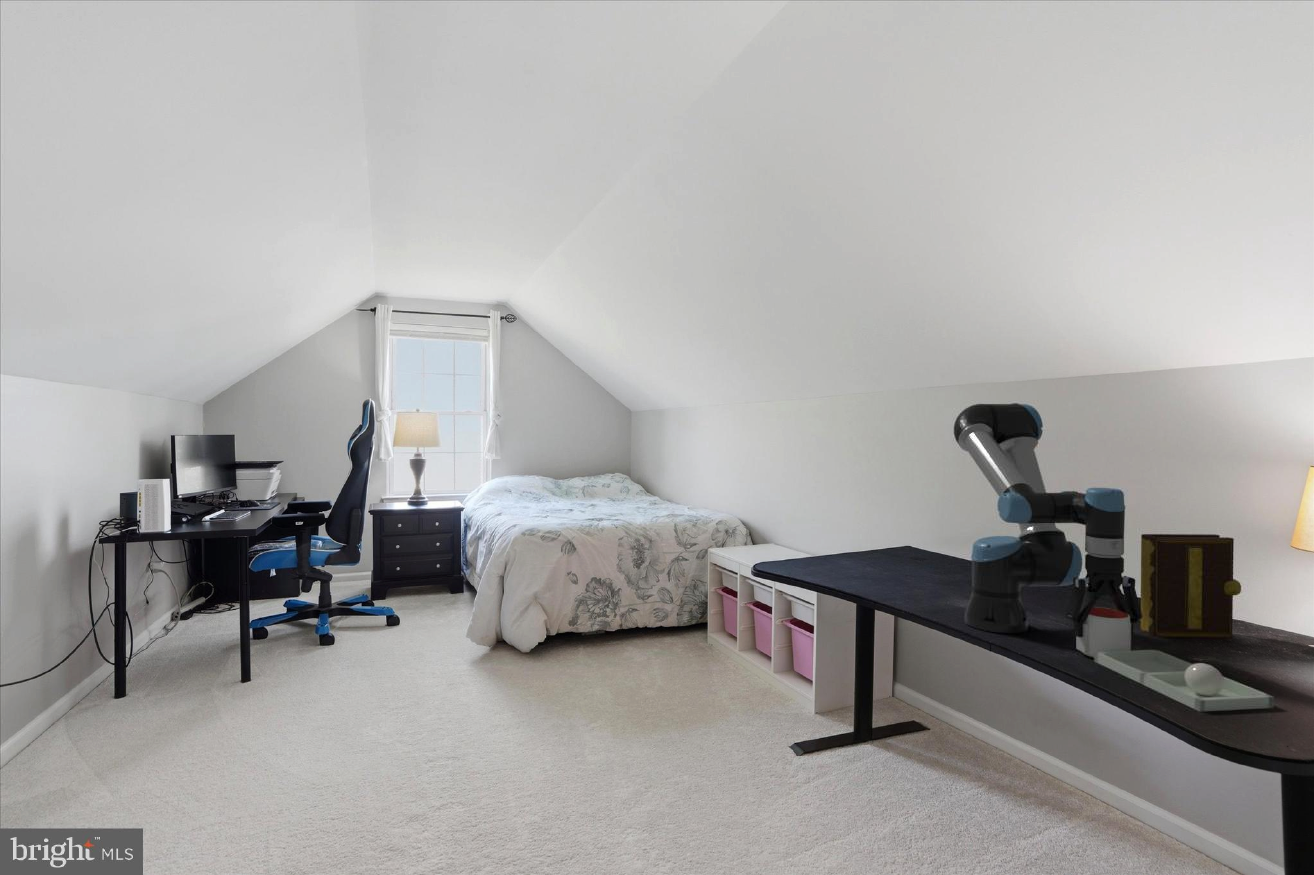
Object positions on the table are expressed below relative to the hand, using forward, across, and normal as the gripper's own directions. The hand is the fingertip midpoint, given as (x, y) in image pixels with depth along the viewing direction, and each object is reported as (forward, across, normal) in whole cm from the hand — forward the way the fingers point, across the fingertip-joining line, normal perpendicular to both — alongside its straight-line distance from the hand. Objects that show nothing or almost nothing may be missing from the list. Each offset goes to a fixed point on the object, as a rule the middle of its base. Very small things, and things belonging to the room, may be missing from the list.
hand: (1103, 649), depth 156 cm
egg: (0, 0, -26) cm, 26 cm away
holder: (+1, 0, -20) cm, 20 cm away
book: (+1, +34, +12) cm, 36 cm away
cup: (+1, 0, 0) cm, 1 cm away
